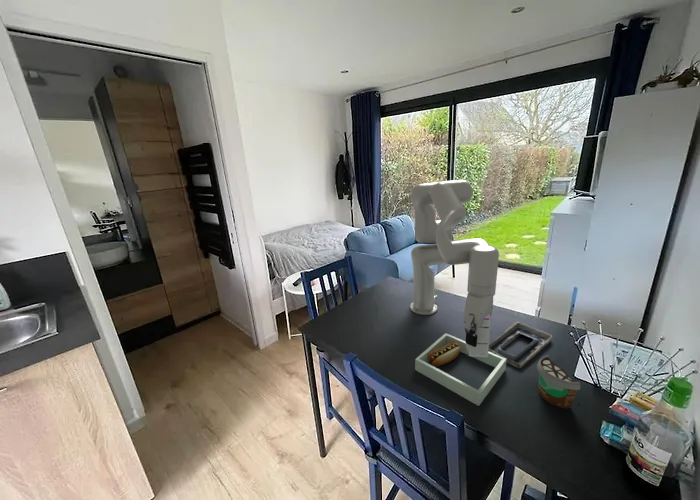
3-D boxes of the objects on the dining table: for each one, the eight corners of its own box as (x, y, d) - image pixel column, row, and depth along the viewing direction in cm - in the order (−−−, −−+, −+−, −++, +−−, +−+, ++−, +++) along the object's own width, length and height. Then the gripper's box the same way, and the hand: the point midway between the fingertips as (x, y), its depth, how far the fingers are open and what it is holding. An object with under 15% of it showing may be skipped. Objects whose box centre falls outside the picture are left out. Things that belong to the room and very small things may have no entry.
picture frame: (552, 341, 109) (553, 335, 108) (521, 372, 95) (522, 365, 95) (515, 327, 119) (516, 321, 119) (483, 352, 106) (483, 346, 105)
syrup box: (488, 358, 88) (492, 316, 83) (467, 356, 89) (470, 315, 84) (484, 346, 93) (487, 306, 89) (464, 345, 94) (467, 305, 90)
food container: (524, 382, 91) (528, 355, 88) (542, 380, 91) (547, 353, 88) (553, 415, 79) (559, 386, 76) (575, 412, 79) (581, 383, 76)
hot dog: (463, 357, 104) (464, 345, 102) (436, 372, 98) (437, 360, 96) (452, 350, 108) (453, 338, 106) (426, 364, 102) (426, 352, 100)
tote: (445, 343, 112) (445, 333, 110) (505, 370, 96) (506, 358, 95) (415, 369, 99) (415, 359, 98) (478, 406, 84) (479, 393, 82)
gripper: (481, 274, 92) (477, 322, 98) (454, 294, 81) (452, 346, 87) (506, 280, 87) (501, 330, 92) (481, 302, 76) (476, 357, 81)
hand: (477, 338), depth 89 cm, fingers closed on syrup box, 8 cm apart
